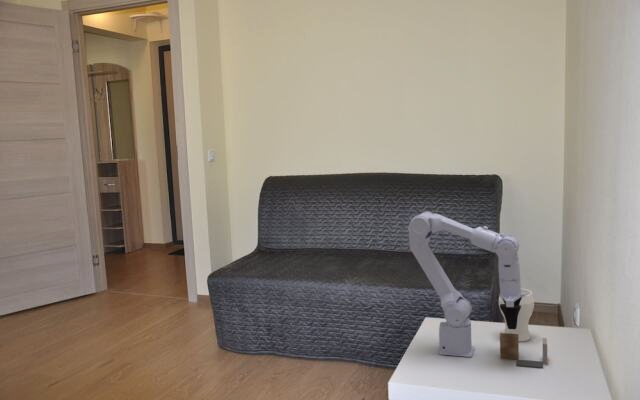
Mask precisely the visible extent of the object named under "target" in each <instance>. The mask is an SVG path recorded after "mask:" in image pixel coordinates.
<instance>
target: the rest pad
mask: <svg viewBox="0 0 640 400" xmlns="http://www.w3.org/2000/svg"><path fill="white" fill-rule="evenodd" d="M515 361H516V364H515V365H516V367H524V368H532V369H544V365H543V360H542V361H540V360H527V359H517V360H515Z"/></svg>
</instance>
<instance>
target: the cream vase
mask: <svg viewBox="0 0 640 400" xmlns="http://www.w3.org/2000/svg"><path fill="white" fill-rule="evenodd" d="M521 292H522V293H526V296H525V297H522V299H521V301H520V304H519V305H521V309H520V311H519V314H518V318H517V327H516V329H508V326H507V323H506V319H505V316H504V314H503V312H502V310H501V308H500V304H505V303H504V301H503V299H502V298H501V297H500V294H499V297H498V306H499V307H498V308H499V310H500V313H501V315H502V316H503V318H504V319H503V320H504V325H505V328H504V333H510V334H518V341H519V342H527V341H529V340H530V338H531V337H530V331H529V321H530V318H531V316H532V315H533V312H534V308H535V300H534V295H533V292H532V291H531V290H529V289H527V288H522V287H521Z"/></svg>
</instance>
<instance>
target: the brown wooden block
mask: <svg viewBox="0 0 640 400" xmlns="http://www.w3.org/2000/svg"><path fill="white" fill-rule="evenodd" d="M519 345H520V344H519V341H518V334H510V333H505V332H500V334H499V352H500V353H499V357H500V360H507V361H509V360H510V361H517V359H519V358H520V354H519V353H520V351H519V349H520V347H519ZM519 360H520V359H519Z"/></svg>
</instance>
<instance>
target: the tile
mask: <svg viewBox="0 0 640 400" xmlns="http://www.w3.org/2000/svg"><path fill="white" fill-rule="evenodd" d="M541 340H542V362H543V366H544V365H545V366H547V365H548V364H549V363H548V339H547V337H542V339H541Z"/></svg>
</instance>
